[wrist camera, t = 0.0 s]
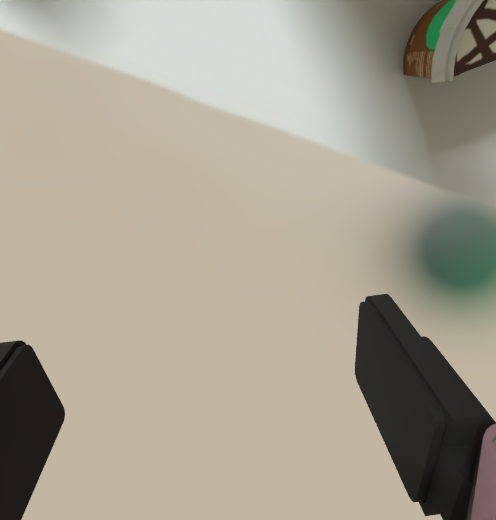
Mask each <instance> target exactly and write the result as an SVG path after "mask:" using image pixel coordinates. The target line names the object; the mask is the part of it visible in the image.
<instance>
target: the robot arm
mask: <svg viewBox="0 0 496 520" xmlns="http://www.w3.org/2000/svg"><path fill="white" fill-rule="evenodd" d="M355 375H356V379H357V382H358V384H359V386H360V389H361V391H362V393H363V395H364V398H365V400H366V402H367V404H368V407H369V408H370V411H371V413H372V415H373V418H374V420H375V422H376V424H377V426H378V429H379V431H380V433H381V435H382V438H383V440H384V442H385V444H386V446H387V449H388V451H389V453H390V455H391V458H392V460H393V462H394V464H395V466H396V469H397V471H398V473H399V475H400V478H401V480H402V482H403V484H404V486H405V489H406V491H407V493H408V495H409V497H410V498H411V500H412V501H413V502H419V503H420V506H421V507H422V510H423V512H424V514H425V516H429V515H436V514H441V516H442V518H443V520H496V422H495V421H494V420H493V418H492V417H491V416H490V415H489V413H488V412H487V411H486V410H485V408H484V407H483V406H482V405H481V403H480V402H479V401H478V399H477V398H476V397H475V396H474V395H473V393H472V392H471V391H470V389H469V388H468V387H467V386H466V384H465V383H464V382H463V381H462V379H461V378H460V377H459V376H458V374H457V373H456V372H455V370H454V369H453V368H452V367H451V365H450V364H449V363H448V361H447V360H446V359H445V358H444V356H443V355H442V354H441V353H440V351H439V350H438V349H437V348H436V346H435V345H434V344H433V342H431V341H430V339H429V338H427V337H421V336H420V335H419V334H418V332H417V331H416V329H415V328H414V327H413V325H412V324H411V323H410V322H409V320H408V319H407V318H406V316H405V315H404V314H403V312H402V311H401V310H400V309H399V307H398V306H397V305H396V303H395V302H394V301H393V299H392V298H391V297H390V296H389V295H388V294H382V295H374V296H368V297H366V300H365V302H361V303H360V306H359V320H358V334H357V347H356V362H355ZM64 416H65V411H64V407H63V405H62V403H61V401H60V399H59V398H58V396H57V394H56V392H55V390H54V388H53V386H52V384H51V382H50V381H49V379H48V377H47V375H46V373H45V371H44V369H43V367H42V365H41V363H40V361H39V360H38V358H37V356H36V354H35V352H34V350H33V348H32V347H31V346H30V345H26V343H25V342H23V341H13V342H4V343H0V520H21V519H22V516H23V514H24V512H25V509H26V507H27V505H28V502H29V500H30V498H31V495H32V493H33V491H34V488H35V486H36V484H37V482H38V479H39V477H40V474H41V472H42V470H43V468H44V465H45V463H46V461H47V458H48V456H49V454H50V452H51V449H52V447H53V445H54V442H55V440H56V438H57V435H58V433H59V431H60V428H61V426H62V424H63V421H64Z"/></svg>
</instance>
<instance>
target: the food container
mask: <svg viewBox="0 0 496 520" xmlns="http://www.w3.org/2000/svg"><path fill="white" fill-rule="evenodd" d="M495 60H496V0H443V1H441V2H439V3H438V4H436V5H435V6H434V7H432V8H431V9H430V10H429V11H428V12H427V13H426V14H424V16H423V17H422V18H421V19H420V21H419V22H418V23H417V25H416V26H415V28H414V30H413V32H412V34H411V36H410V38H409V40H408V43H407V46H406V50H405V55H404V63H403V69H404V75H410V76H417V77H423V78H430V79H431V83H440V82H446V81H454V76H456V75H459V74H461V73H463V72H465V71H468V70H470V69H473V68H476V67H478V66H481V65H484V64H486V63H489V62H492V61H495Z"/></svg>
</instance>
